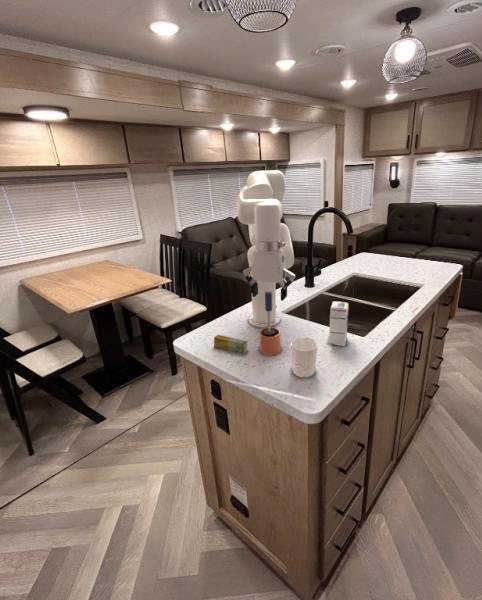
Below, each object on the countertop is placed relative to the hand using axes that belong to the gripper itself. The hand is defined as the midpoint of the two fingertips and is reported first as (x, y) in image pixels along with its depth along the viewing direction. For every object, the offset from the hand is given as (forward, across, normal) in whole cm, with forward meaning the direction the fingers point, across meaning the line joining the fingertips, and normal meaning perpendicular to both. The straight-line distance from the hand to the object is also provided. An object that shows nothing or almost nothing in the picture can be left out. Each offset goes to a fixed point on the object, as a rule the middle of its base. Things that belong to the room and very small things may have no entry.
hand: (269, 297), depth 103 cm
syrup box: (+20, -21, -12) cm, 32 cm away
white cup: (+20, -14, +9) cm, 26 cm away
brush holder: (+20, 0, 0) cm, 20 cm away
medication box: (+20, +13, +5) cm, 24 cm away
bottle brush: (+19, 0, +1) cm, 19 cm away
